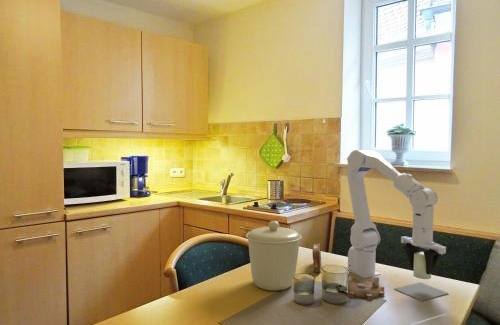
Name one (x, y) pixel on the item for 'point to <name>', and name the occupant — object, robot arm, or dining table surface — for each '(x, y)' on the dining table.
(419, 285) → the slate mat
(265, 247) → the canister
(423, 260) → the sage can
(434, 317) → the dining table surface
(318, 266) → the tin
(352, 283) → the sprocket wheel
